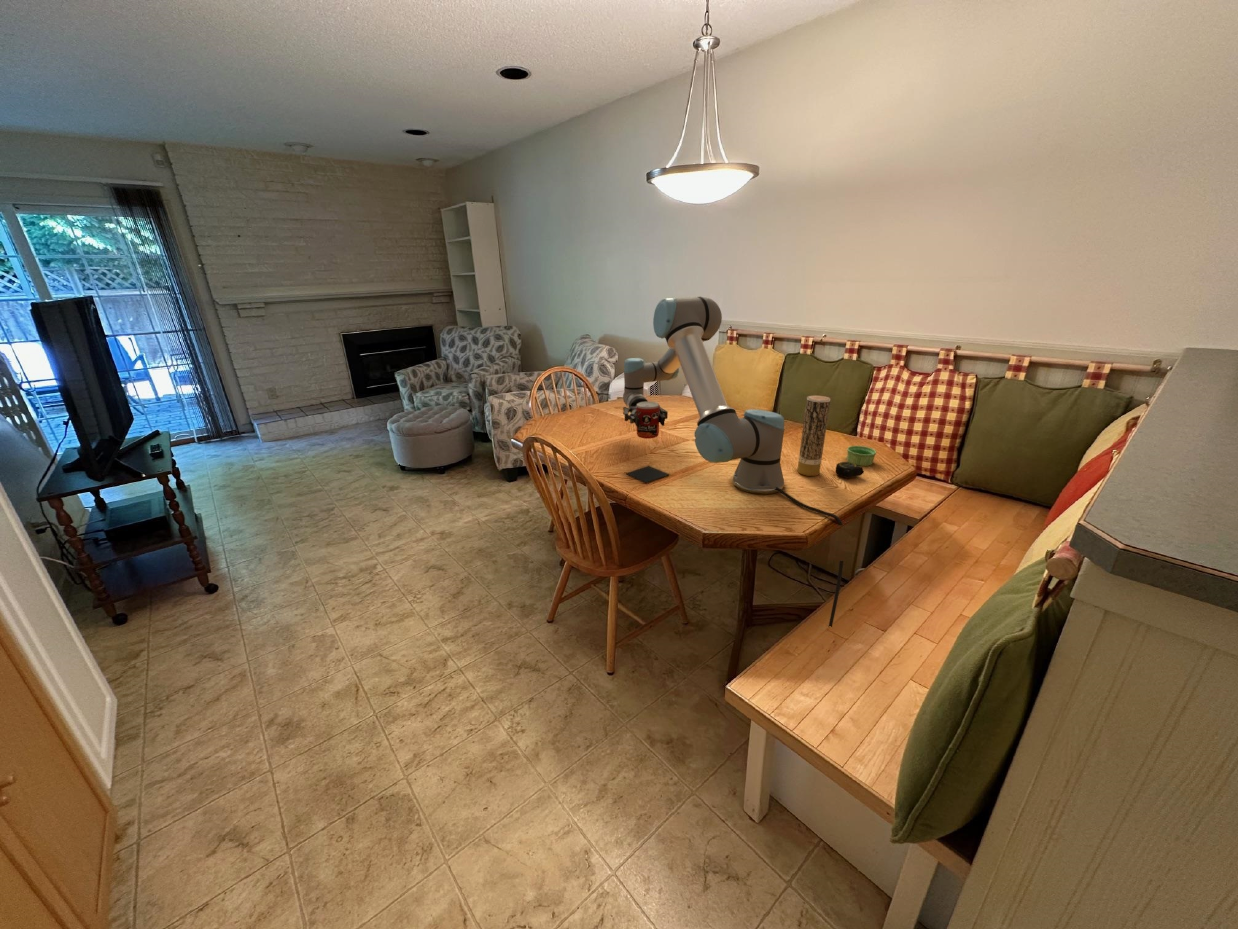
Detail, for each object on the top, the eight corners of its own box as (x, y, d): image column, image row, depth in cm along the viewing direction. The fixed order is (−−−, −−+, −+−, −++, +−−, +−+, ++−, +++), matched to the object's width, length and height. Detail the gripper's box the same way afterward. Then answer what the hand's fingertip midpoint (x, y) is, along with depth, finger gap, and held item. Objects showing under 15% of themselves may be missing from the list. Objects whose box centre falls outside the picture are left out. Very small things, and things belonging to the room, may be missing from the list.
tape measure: (846, 481, 149) (848, 470, 148) (829, 473, 155) (831, 463, 154) (862, 478, 152) (865, 467, 150) (846, 470, 158) (848, 459, 156)
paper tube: (815, 469, 159) (826, 395, 150) (821, 477, 153) (833, 400, 144) (794, 468, 160) (804, 395, 151) (800, 476, 153) (810, 400, 144)
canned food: (635, 438, 161) (635, 406, 157) (638, 431, 169) (638, 400, 165) (657, 439, 160) (658, 407, 156) (660, 432, 167) (660, 401, 163)
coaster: (669, 475, 156) (669, 474, 156) (646, 483, 150) (646, 482, 150) (648, 466, 163) (648, 465, 163) (626, 474, 158) (626, 473, 158)
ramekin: (850, 466, 161) (852, 454, 159) (841, 457, 169) (843, 445, 168) (878, 467, 160) (880, 454, 158) (868, 457, 168) (870, 445, 167)
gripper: (665, 413, 182) (680, 431, 161) (611, 416, 179) (620, 435, 158) (665, 394, 179) (681, 409, 158) (610, 396, 176) (619, 413, 155)
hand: (650, 422), depth 158 cm, fingers closed on canned food, 8 cm apart
